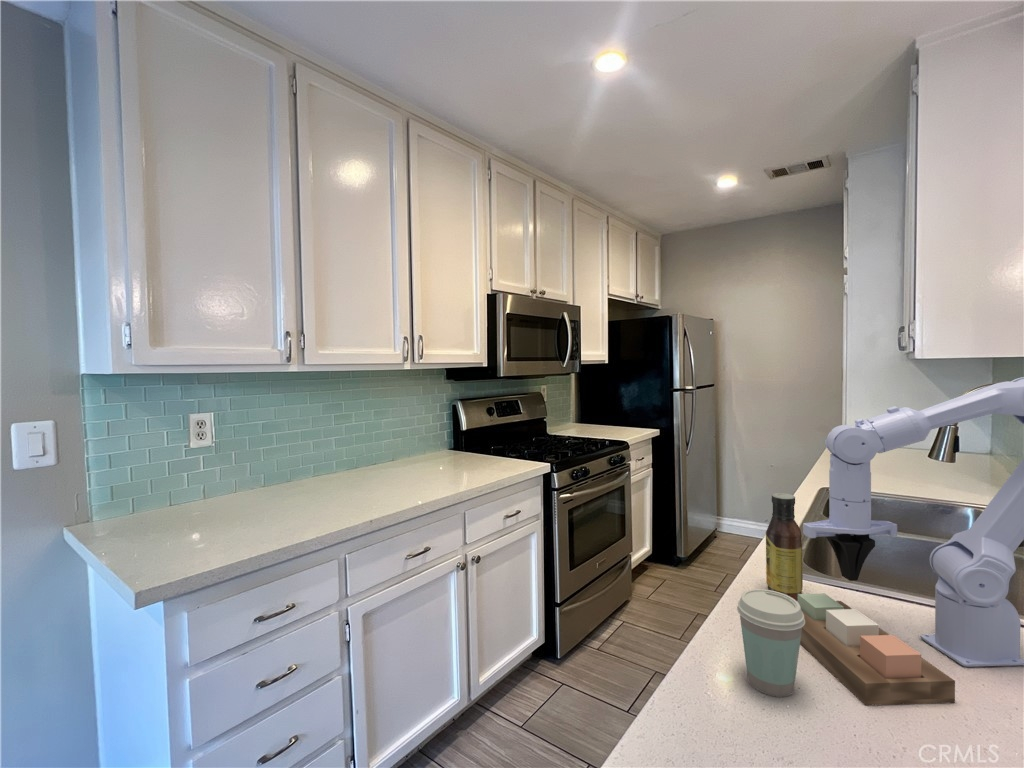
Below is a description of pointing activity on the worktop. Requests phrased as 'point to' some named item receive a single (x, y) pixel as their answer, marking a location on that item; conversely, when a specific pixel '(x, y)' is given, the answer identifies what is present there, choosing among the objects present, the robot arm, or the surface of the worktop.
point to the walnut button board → (873, 671)
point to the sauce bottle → (784, 548)
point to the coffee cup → (771, 639)
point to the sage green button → (817, 605)
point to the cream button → (849, 626)
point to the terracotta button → (890, 656)
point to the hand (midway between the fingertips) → (849, 578)
